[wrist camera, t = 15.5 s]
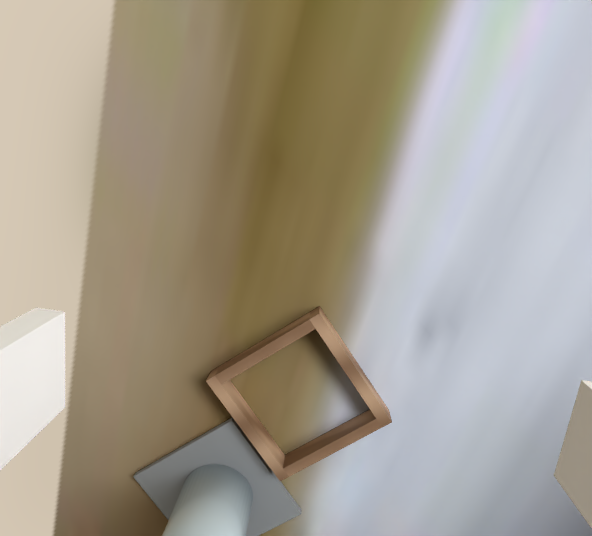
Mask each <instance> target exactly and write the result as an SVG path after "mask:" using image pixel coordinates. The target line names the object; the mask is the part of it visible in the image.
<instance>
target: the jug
mask: <svg viewBox="0 0 592 536" xmlns="http://www.w3.org/2000/svg"><path fill="white" fill-rule="evenodd" d="M252 502H253V492H252V488H251V486H250V484H249V482H248V481H247V479H246V478H245V477H244V476H243V475H242V474H241V473H239V472H238V471H237V470H235V469H233V468H231V467H228V466H225V465H218V464H211V465H205V466H202V467H199V468H197V469H196V470H194V471H193V472H192V473H191V474H190V475H189V476H188V477H187V479H186V480H185V483H184V485H183V487H182V490H181V492H180V494H179V497H178V499H177V502H176V504H175V506H174V509H173V511H172V514H171V516H170V518H169V521H168V523H167V525H166V528H165V530H164V533H163V535H162V536H246V532H247V527H248V522H249V517H250V512H251V507H252Z"/></svg>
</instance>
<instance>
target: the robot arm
mask: <svg viewBox="0 0 592 536" xmlns="http://www.w3.org/2000/svg"><path fill="white" fill-rule="evenodd" d="M64 408H65V312H64V311H58V310H50V309H42V308H34V309H32V310H30V311H29V312H27V313H25V314H23V315H21V316H19V317H17V318H15V319H13V320H12V321H10V322H8V323H6V324H4V325H2V326H0V470H1V469H2V468H3V467H4V466H5V465H6V464H7V463H8V462H9V461H10V460H11V459H12V458H13V457H14V456H15V455H16V454H18V453H19V452H20V451H21V450H22V449H23V448H24V447H25V446H26V445H27V444H28V443H29V442H30V441H31V440H32V439H33V438H34V437H35V436H36V435H37V434H38V433H39V432H40V431H41V430H42V429H43V428H44V427H45V426H46V425H47V424H49V422H51V421H52V420H53V419H54V418H55V417H56V416H57V415H58V414H59V413H60V412H61V411H62V410H63V409H64ZM554 477H555V478H556V479H557V481H558V482H559V483H560V485H561V486H562V488H563V489H564V490H565V492H566V493H567V495H568V496H569V497H570V499H571V500H572V502H573V503H574V504H575V506H576V507H577V509H578V510H579V511H580V513H581V514H582V516H583V517H584V518H585V520H586V521H587V523H588V524H589V525H590V527H591V528H592V382H590V381H583V380H581V384H580V387H579V391H578V394H577V398H576V401H575V404H574V408H573V411H572V415H571V418H570V422H569V425H568V429H567V432H566V435H565V439H564V442H563V446H562V449H561V453H560V456H559V459H558V463H557V466H556V470H555V473H554Z"/></svg>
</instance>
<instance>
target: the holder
mask: <svg viewBox="0 0 592 536" xmlns="http://www.w3.org/2000/svg"><path fill="white" fill-rule="evenodd" d="M315 329H316V330H317V331H318V333H319V334H320V336H321V337H322V339H323V340H324V342H325V343H326V345H327V346H328V348H329V349H330V351H331V352H332V354H333V355H334V357H335V358H336V360H337V361H338V363H339V364H340V366H341V367H342V369H343V370H344V371H345V373H346V374H347V376H348V377H349V379H350V380H351V382H352V383H353V385H354V386H355V388H356V389H357V391H358V392H359V394H360V395H361V397H362V398H363V400H364V401H365V403H366V404H367V406H368V407H369V410H368V411H366V412H364V413H362V414H360V415H358V416H356V417H355V418H353V419H351V420H349V421H347V422H345V423H343V424H342V425H340V426H338V427H336V428H334V429H332V430H331V431H329V432H327V433H325V434H323V435H321V436H319V437H318V438H316V439H314V440H312V441H310V442H308V443H306V444H305V445H303V446H301V447H299V448H297V449H295V450H294V451H292V452H290V453H288V454H286V455H284V453H283V452H282V451H281V449H280V448H279V446H278V445H277V444H276V442H275V441H274V440H273V438H272V437H271V435H270V434H269V433H268V431H267V430H266V429H265V427H264V426H263V425H262V423H261V422H260V420H259V419H258V418H257V416H256V415H255V414H254V412H253V411H252V409H251V408H250V407H249V405H248V404H247V403H246V401H245V400H244V398H243V397H242V396H241V394H240V393H239V392H238V390H237V389H236V387H235V386H234V385H233V383H232V382H231V381H230V379H232V378H233V377H235V376H237V375H238V374H240V373H242V372H243V371H245V370H247V369H249V368H250V367H252V366H254V365H255V364H257V363H259V362H260V361H262V360H264V359H266V358H267V357H269V356H271V355H272V354H274V353H276V352H277V351H279V350H281V349H282V348H284V347H286V346H288V345H289V344H291V343H293V342H294V341H296V340H298V339H299V338H301V337H303V336H305V335H306V334H308V333H310V332H311V331H313V330H315ZM206 382H207V383H208V385H209V386H210V387H211V389H212V390H213V391H214V393H215V394H216V396H217V397H218V398H219V400H220V401H221V402H222V404H223V405H224V406H225V408H226V409H227V410H228V412H229V413H230V414H231V416H232V417H233V419H234V420H235V421H236V423H237V424H238V425H239V427H240V428H241V429H242V431H243V432H244V433H245V435H246V436H247V437H248V439H249V440H250V441H251V443H252V444H253V446H254V447H255V448H256V450H257V451H258V452H259V454H260V455H261V456H262V458H263V459H264V460H265V462H266V463H267V464H268V466H269V467H270V468H271V470H272V471H273V473H274V474H275V475H276V477H277V478H278V479H279V481H282V480H284V479H286V478H287V477H289V476H291V475H293V474H295V473H297V472H299V471H301V470H303V469H304V468H306V467H308V466H310V465H312V464H314V463H316V462H318V461H320V460H321V459H323V458H325V457H327V456H329V455H331V454H333V453H335V452H337V451H338V450H340V449H342V448H344V447H346V446H348V445H350V444H352V443H354V442H355V441H357V440H359V439H361V438H363V437H365V436H367V435H369V434H371V433H372V432H374V431H376V430H378V429H380V428H382V427H384V426H386V425H388V424H389V423H391V422H392V420H391V416H390V412H389V410H388V408H387V407H386V405H385V404H384V402H383V401H382V399H381V398H380V396H379V395H378V393H377V392H376V390H375V389H374V387H373V386H372V384H371V383H370V381H369V380H368V378H367V377H366V375H365V374H364V372H363V371H362V369H361V368H360V366H359V365H358V363H357V362H356V360H355V359H354V357H353V356H352V354H351V353H350V351H349V350H348V348H347V347H346V345H345V344H344V342H343V341H342V339H341V338H340V336H339V335H338V333H337V332H336V330H335V329H334V327H333V326H332V324H331V323H330V321H329V320H328V318H327V317H326V315H325V314H324V312H323V310H322V309H321V307H320V306H319V307H317V308H316V309H314V310H312V311H311V312H309V313H307V314H306V315H304V316H302V317H301V318H299V319H297V320H296V321H294V322H292V323H291V324H289V325H287V326H286V327H284V328H282V329H281V330H279V331H277V332H276V333H274V334H272V335H271V336H269V337H267V338H266V339H264V340H262V341H261V342H259V343H257V344H256V345H254V346H252V347H251V348H249V349H247V350H246V351H244V352H242V353H241V354H239V355H237V356H236V357H234V358H232V359H231V360H229V361H227V362H226V363H224V364H222V365H221V366H219V367H217V368H216V369H214V370H212V371H211V372H210V374H209V376H208V378H207V380H206Z"/></svg>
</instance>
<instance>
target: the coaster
mask: <svg viewBox="0 0 592 536" xmlns="http://www.w3.org/2000/svg"><path fill="white" fill-rule="evenodd" d="M211 464H218V465H225V466H228V467H231V468H233V469H235V470H237V471H238V472H239V473H241V474H242V475H243V476H244V477H245V478H246V479H247V481H248V482H249V484H250V486H251V488H252V492H253V502H252V507H251V512H250V517H249V522H248V527H247V532H246V536H259V535H261V534H263V533H265V532H267V531H269V530H271V529H273V528H275V527H277V526H278V525H280V524H282V523H284V522H286V521H288V520H290V519H292V518H294V517H296V516H298V515H300V514H301V508H300V507H299V506H298V504H297V503H296V502H295V500H294V499H293V498H292V496H291V495H290V494H289V492H288V491H287V490H286V488H285V487H284V486H283V484H282V483H281V481H279V479H278V478H277V477H276V475H275V474H274V473H273V471H272V470H271V468H270V467H269V466H268V464H267V463H266V462H265V460H264V459H263V458H262V456H261V455H260V454H259V452H258V451H257V450H256V448H255V447H254V446H253V444H252V443H251V441H250V440H249V439H248V437H247V436H246V435H245V433H244V432H243V431H242V429H241V428H240V427H239V425H238V424H237V423H236V421H235V420H234V419H233V417H232V418H231V419H229V420H227V421H225V422H224V423H222V424H220V425H218V426H217V427H215V428H213V429H211V430H210V431H208V432H206V433H204V434H203V435H201V436H199V437H197V438H196V439H194V440H192V441H190V442H189V443H187V444H185V445H183V446H182V447H180V448H178V449H176V450H175V451H173V452H171V453H169V454H168V455H166V456H164V457H162V458H161V459H159V460H157V461H155V462H154V463H152V464H150V465H148V466H147V467H145V468H143V469H141V470H140V471H138V472H136V473H135V475H134V476H133V477H134V478H135V479H136V481H137V482H138V483H139V484H140V486H141V487H142V488H143V489H144V491H145V492H146V493H147V494H148V496H149V497H150V498H151V499H152V500H153V502H154V503H155V504H156V505H157V507H158V508H159V509H160V510H161V512H162V513H163V514H164V515H165V517H166V518H167V519H168V520H169V518H170V516H171V514H172V511H173V509H174V506H175V504H176V502H177V499H178V497H179V494H180V492H181V490H182V487H183V485H184V483H185V480H186V479H187V477H188V476H189V475H190V474H191V473H192V472H193V471H194V470H196V469H197V468H199V467H202V466H205V465H211Z"/></svg>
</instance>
